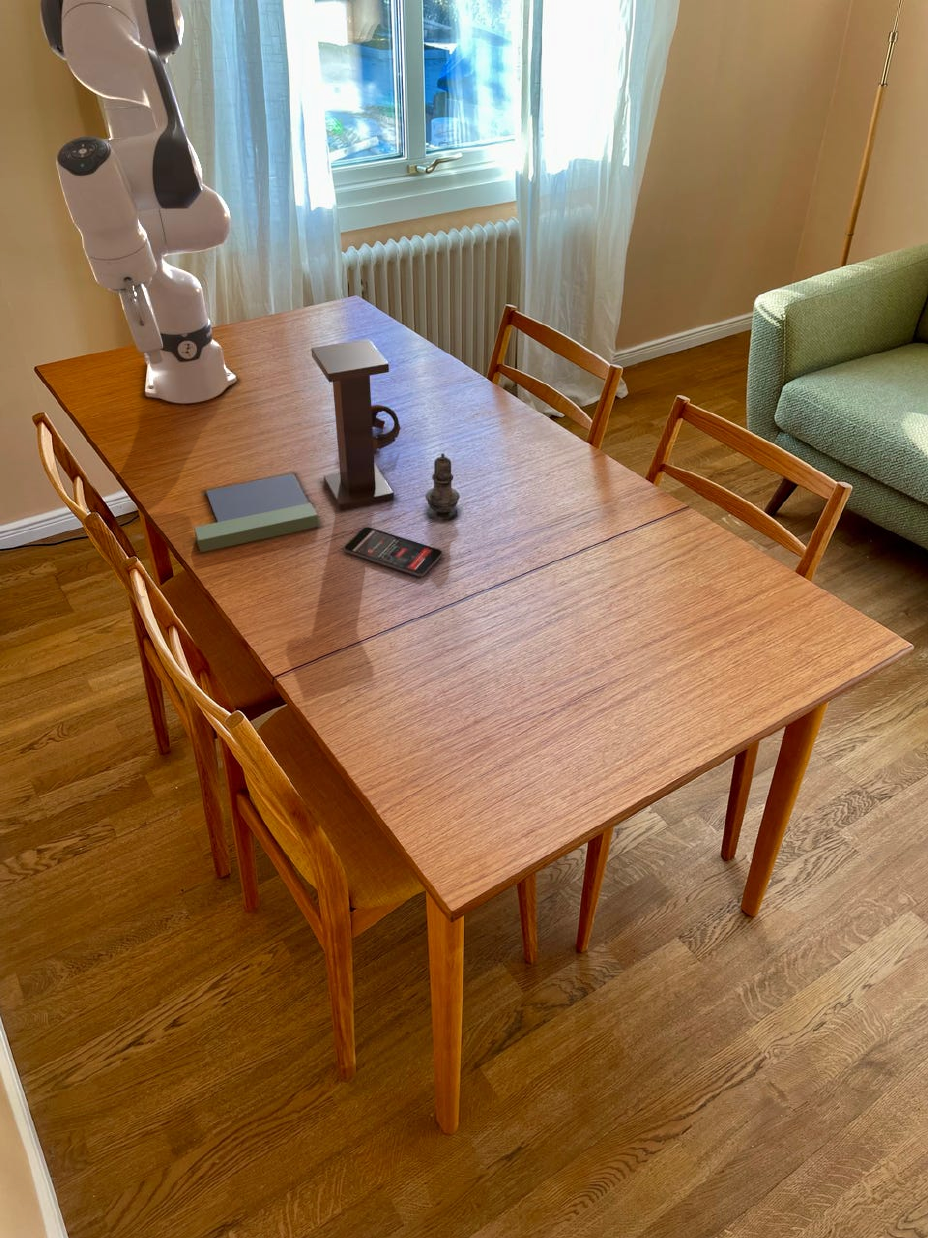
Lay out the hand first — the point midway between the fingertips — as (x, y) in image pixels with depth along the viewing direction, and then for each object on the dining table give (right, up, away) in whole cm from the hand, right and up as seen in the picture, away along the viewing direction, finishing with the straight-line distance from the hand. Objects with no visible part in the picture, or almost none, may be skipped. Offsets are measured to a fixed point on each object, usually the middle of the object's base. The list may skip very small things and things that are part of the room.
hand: (151, 343), depth 146 cm
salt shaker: (+45, -24, +19) cm, 54 cm away
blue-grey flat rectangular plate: (+12, -21, +21) cm, 32 cm away
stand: (+29, -20, +24) cm, 42 cm away
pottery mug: (+30, -8, +37) cm, 49 cm away
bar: (+14, -28, +13) cm, 34 cm away
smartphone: (+37, -32, +10) cm, 50 cm away
